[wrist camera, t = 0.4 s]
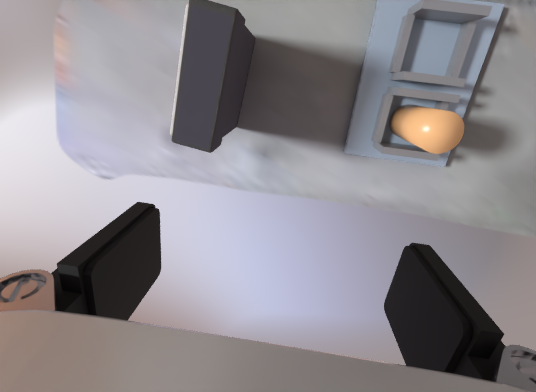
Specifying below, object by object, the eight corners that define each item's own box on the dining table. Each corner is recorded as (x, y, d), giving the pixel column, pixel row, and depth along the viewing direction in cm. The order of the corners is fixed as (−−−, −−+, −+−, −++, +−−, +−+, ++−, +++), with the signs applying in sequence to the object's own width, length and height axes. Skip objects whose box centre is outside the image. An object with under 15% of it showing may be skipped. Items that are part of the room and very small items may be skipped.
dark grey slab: (226, 29, 34) (178, -10, 20) (260, 39, 34) (237, 7, 20) (210, 120, 38) (161, 140, 24) (240, 128, 38) (210, 154, 24)
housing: (378, -8, 31) (415, -46, 22) (498, 6, 31) (587, -28, 21) (343, 151, 38) (359, 173, 29) (441, 165, 37) (489, 191, 28)
